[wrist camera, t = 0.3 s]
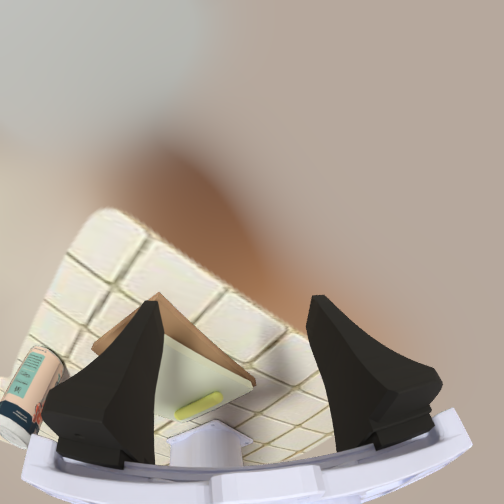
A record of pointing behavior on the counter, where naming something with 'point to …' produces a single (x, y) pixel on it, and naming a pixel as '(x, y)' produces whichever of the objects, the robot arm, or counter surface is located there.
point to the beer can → (28, 396)
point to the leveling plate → (193, 384)
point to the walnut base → (178, 337)
